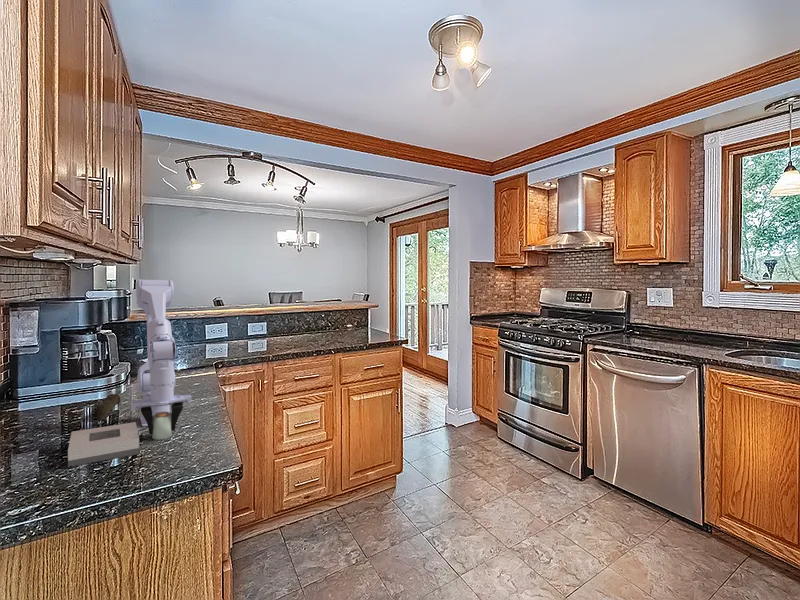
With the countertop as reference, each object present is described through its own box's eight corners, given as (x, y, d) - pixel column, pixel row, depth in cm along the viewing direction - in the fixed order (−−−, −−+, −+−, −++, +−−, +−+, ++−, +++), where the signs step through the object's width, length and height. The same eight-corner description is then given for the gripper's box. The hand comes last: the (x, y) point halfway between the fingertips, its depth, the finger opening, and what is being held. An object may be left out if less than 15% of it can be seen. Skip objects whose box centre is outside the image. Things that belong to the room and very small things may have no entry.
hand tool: (107, 405, 143) (106, 392, 143) (120, 404, 144) (120, 391, 144) (88, 423, 125) (87, 408, 125) (103, 421, 127) (103, 407, 126)
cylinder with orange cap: (151, 435, 116) (151, 412, 116) (170, 432, 119) (170, 409, 118) (152, 441, 112) (152, 417, 112) (172, 437, 115) (172, 414, 114)
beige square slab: (71, 446, 107) (71, 431, 107) (135, 436, 115) (135, 422, 115) (68, 467, 95) (67, 450, 95) (139, 453, 104) (139, 438, 103)
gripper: (131, 390, 107) (132, 441, 108) (193, 383, 116) (193, 430, 116) (130, 384, 113) (130, 433, 113) (189, 378, 121) (188, 423, 122)
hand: (162, 431), depth 115 cm, fingers closed on cylinder with orange cap, 5 cm apart
